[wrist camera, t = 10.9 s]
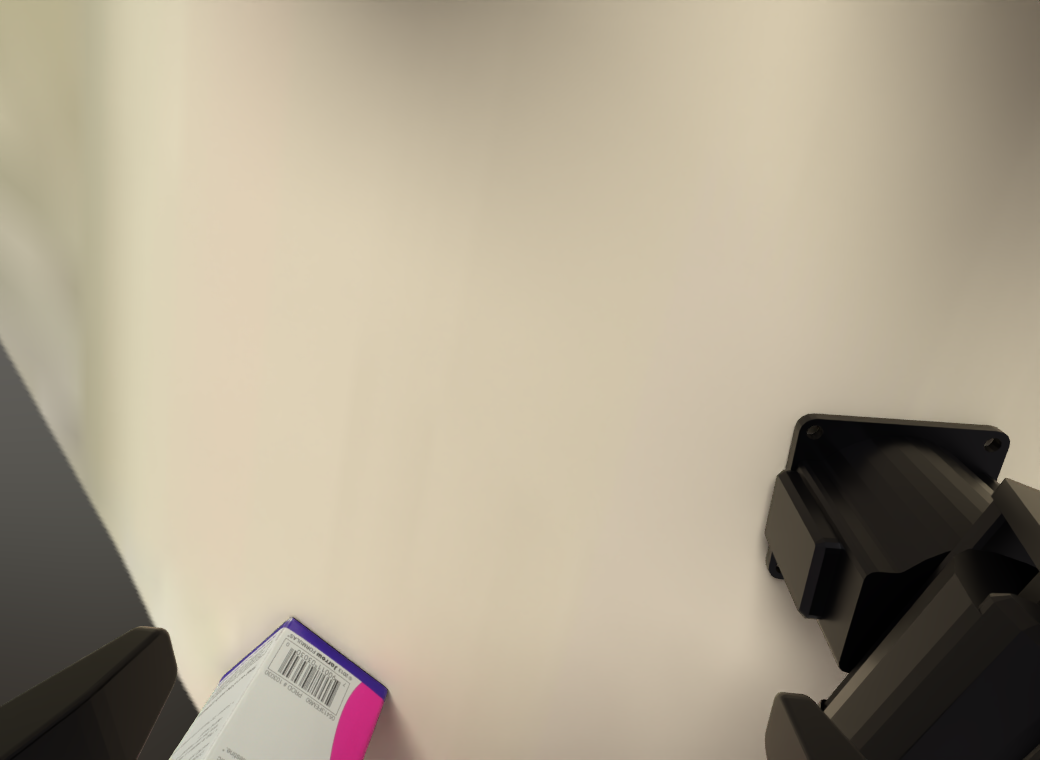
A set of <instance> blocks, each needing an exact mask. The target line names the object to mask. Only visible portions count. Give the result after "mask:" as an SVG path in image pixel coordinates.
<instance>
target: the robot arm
mask: <svg viewBox="0 0 1040 760" xmlns="http://www.w3.org/2000/svg"><path fill="white" fill-rule="evenodd" d="M816 425H817V426H819V428H818V430H817V431H816V432H815V433H813V434H808V433H807V431H808V429H809V428H810V427H812V426H816ZM991 438H994V440H993V442H992V443H991V444H990V445H988V446H984V444H985V443H986V441H987V440H989V439H991ZM1009 445H1010V439H1009V437H1008V436H1007V435H1006V434H1005V433H1004V432H1002V431H1001V430H999V429H998V428H997V427H994V426H989V425H974V424H959V423H945V422H930V421H915V420H901V419H886V418H871V417H857V416H842V415H828V414H807V415H805V416H803V417H801V418H800V419H799V420H798V421H797V424H796V426H795V430H794V435H793V439H792V444H791V448H790V453H789V457H788V462H787V466H786V470H783V471H782V472H781V473H780V474H778V475H777V478H776V482H775V487H774V492H773V496H772V501H771V505H770V510H769V515H768V519H767V524H766V529H765V536H766V538H767V541H768V543H769V547H768V552H767V557H766V565H767V568H768V570H769V572H770V574H771V575H772V576H773V577H775V578H778V579H784V580H785V582H786V584H787V587H788V589H789V591H790V594H791V596H792V598H793V601H794V603H795V605H796V608H797V610H798V611H799V612H800V613H801V614H802V616H803V617H804V618H808V619H817V621H818V624H819V626H820V628H821V630H822V632H823V634H824V636H825V639H826V641H827V643H828V645H829V647H830V649H831V652H832V654H833V656H834V658H835V660H836V662H837V665H838V667H839V668H840V669H841V670H842V671H844V672H847V673H849V674H848V675H847V677H846V678H845V679H844V680H843V681H842V683H841V684H840V685H839V686H838V687H837V689H836V690H835V691H834V692H833V693H832V695H831V696H830V697H829V698H828V699H827V700H825V699H823V700H821V701H820V702H819V704H818V705H817V704H816V703H815V702H814V701H813V700H812V699H811V698H810V697H808V696H806V695H803V694H795V693H785V692H780V693H778V694H777V695H776V696H775V699H774V702H773V706H772V709H771V713H770V717H769V721H768V725H767V728H766V733H765V749H766V755H767V760H1040V491H1039V490H1037V489H1034V488H1032V487H1029V486H1026V485H1024V484H1021V483H1019V482H1016V481H1014V480H1011V479H1008V478H1005V479H1004V480H1003V481H1002V483H1001V484H999V483H998V482H997V478H998V475H999V473H1000V470H1001V467H1002V465H1003V462H1004V459H1005V457H1006V454H1007V451H1008V449H1009ZM777 564H778V566H779V567H778V566H777ZM176 677H177V664H176V660H175V655H174V651H173V647H172V643H171V639H170V636H169V633H168V632H167V631H166V630H165V629H163V628H156V627H146V626H140V627H136V628H134V629H132V630H130V631H128V632H127V633H125V634H123V635H122V636H120V637H118V638H117V639H115V640H113V641H111V642H110V643H108V644H106V645H104V646H103V647H101V648H99V649H98V650H96V651H94V652H92V653H91V654H89V655H87V656H86V657H84V658H82V659H80V660H79V661H77V662H75V663H74V664H72V665H70V666H69V667H67V668H65V669H63V670H62V671H60V672H58V673H56V674H55V675H53V676H51V677H50V678H48V679H46V680H45V681H43V682H41V683H39V684H38V685H36V686H34V687H32V688H31V689H29V690H28V691H26V692H24V693H22V694H21V695H19V696H17V697H15V698H14V699H12V700H10V701H9V702H7V703H5V704H3V705H2V706H0V760H137V758H138V756H139V754H140V752H141V750H142V748H143V746H144V744H145V742H146V740H147V738H148V736H149V734H150V732H151V730H152V728H153V726H154V724H155V722H156V720H157V718H158V716H159V714H160V712H161V710H162V708H163V706H164V704H165V702H166V700H167V698H168V696H169V694H170V692H171V690H172V688H173V686H174V684H175V681H176Z"/></svg>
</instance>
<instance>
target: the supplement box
mask: <svg viewBox="0 0 1040 760" xmlns="http://www.w3.org/2000/svg"><path fill="white" fill-rule="evenodd" d="M386 695H387V689H386V688H385V687H384V686H383V685H382V684H380V683H379V682H378V681H376V680H375V679H374V678H372V677H371V676H370V675H368V674H367V673H365V672H364V671H363V670H362V669H360V668H359V667H357V666H356V665H355V664H354V663H352V662H351V661H349V660H348V659H347V658H346V657H344V656H343V655H341V654H340V653H339V652H337V651H336V650H335V649H333V648H332V647H331V646H329V645H328V644H327V643H326V642H324V641H323V640H322V639H320V638H319V637H318V636H317V635H315V634H314V633H313V632H311V631H310V630H309V629H307V628H306V627H305V626H303V625H302V624H301V623H299V622H298V621H297V620H296V619H294V618H293V617H290V618H289V619H288V620H287V621H285V622H284V623H283V624H282V625H281V626H280V627H279V628H277V629H276V630H275V631H274V632H273V633H272V634H271V635H270V636H269V637H267V638H266V639H265V640H264V641H263V642H262V643H261V644H260V645H259V646H257V647H256V648H255V649H254V650H253V651H252V652H250V653H249V654H248V655H247V656H246V657H244V658H243V659H242V660H241V661H240V662H239V663H238V664H236V665H235V666H234V667H233V668H232V669H231V670H230V671H228V672H227V673H226V674H225V675H224V676H223V677H222V679H221V680H220V682H219V684H218V686H217V687H216V689H215V690H214V692H213V693H212V695H211V696H210V698H209V699H208V701H207V702H206V704H205V705H204V707H203V708H202V710H201V712H200V713H199V715H198V716H197V718H196V720H195V721H194V723H193V724H192V725H191V727H190V729H189V730H188V732H187V733H186V735H185V736H184V738H183V739H182V741H181V742H180V744H179V745H178V747H177V748H176V750H175V751H174V753H173V754H172V756H171V757H170V759H169V760H363V759H364V756H365V753H366V750H367V748H368V745H369V742H370V739H371V737H372V734H373V731H374V729H375V726H376V723H377V720H378V718H379V715H380V712H381V709H382V707H383V704H384V701H385V699H386Z"/></svg>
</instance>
